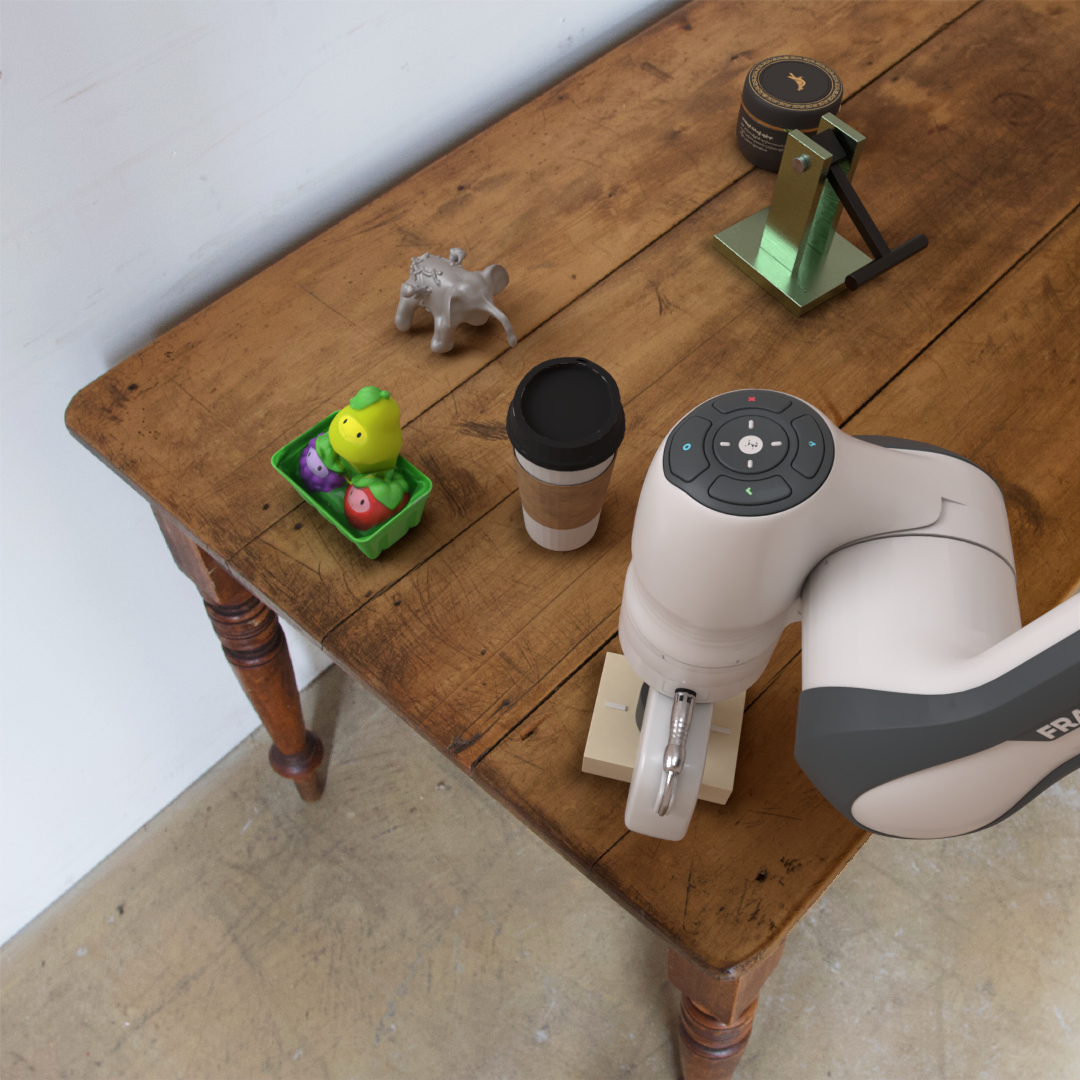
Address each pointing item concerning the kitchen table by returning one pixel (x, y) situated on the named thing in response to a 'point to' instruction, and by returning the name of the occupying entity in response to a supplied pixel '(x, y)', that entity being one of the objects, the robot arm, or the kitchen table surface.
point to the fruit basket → (358, 472)
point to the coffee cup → (564, 448)
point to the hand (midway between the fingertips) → (670, 714)
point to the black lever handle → (864, 221)
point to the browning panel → (620, 735)
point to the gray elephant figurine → (451, 296)
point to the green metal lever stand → (800, 226)
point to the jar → (784, 105)
